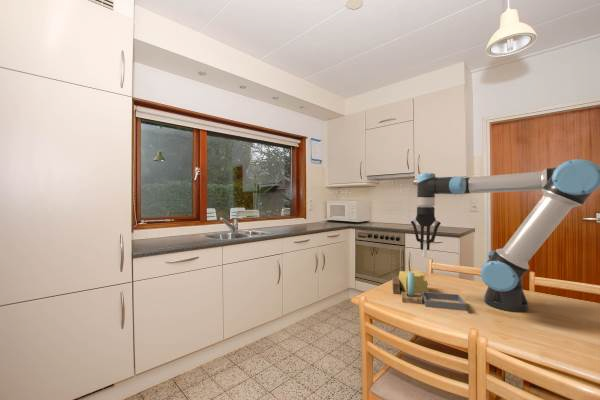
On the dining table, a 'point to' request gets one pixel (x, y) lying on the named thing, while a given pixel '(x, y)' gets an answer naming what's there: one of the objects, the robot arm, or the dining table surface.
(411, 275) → the dowel
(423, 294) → the tray
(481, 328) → the dining table surface
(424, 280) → the cheese
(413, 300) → the holder
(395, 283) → the bar
